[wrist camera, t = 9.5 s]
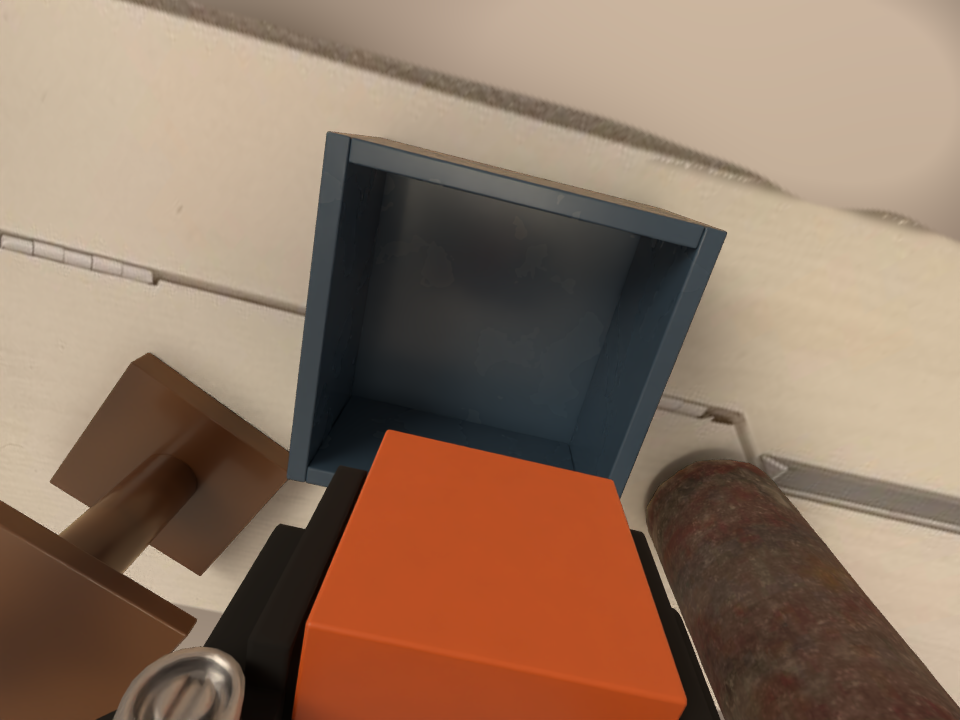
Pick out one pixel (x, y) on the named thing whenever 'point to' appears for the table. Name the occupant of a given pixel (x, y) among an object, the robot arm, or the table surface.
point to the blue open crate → (487, 312)
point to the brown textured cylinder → (779, 607)
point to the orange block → (484, 598)
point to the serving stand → (123, 542)
